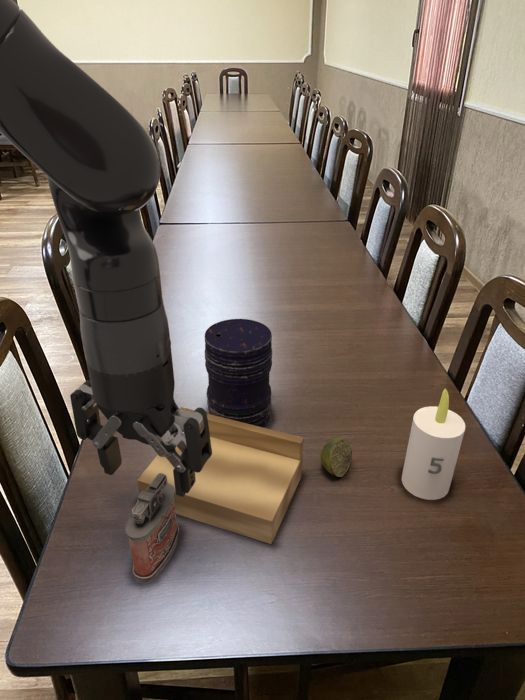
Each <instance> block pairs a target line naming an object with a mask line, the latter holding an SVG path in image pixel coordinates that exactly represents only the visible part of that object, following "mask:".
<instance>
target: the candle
mask: <svg viewBox="0 0 525 700" xmlns="http://www.w3.org/2000/svg"><path fill="white" fill-rule="evenodd" d="M449 407H450V395H449V392H448V389H447V388H444V389H443V390H442V393H441V397H440V400H439V403H438V406H431V405H430V406H423V407H421V408H419V409H418V410H416V411H415V413H414V414H413V418H412V423H411V429H410V432H409V436H408V437H409V438H408V443H407V448H406V453H405V457H404V458H405V459H404V463H403V468H402V473H401V483H402V485H403V487H404V488H405V490H406V491H407V492H408V493H409V494H411V495H413V496H414V497H417V498H419V499H422V500H427V501H437V500H440V499H443V498H444V497H446V496H447V495H448V494H449V491H450V488H451V485H452V480H453V477H454V473H455V470H456V465H457V462H458V458H459V453H460V450H461V447H462V443H463V440H464V435H465V432H466V423H465V421H464V419H463V418H462V417H461V416H460V415H459V414H457V413H456V412H455V411H453V410H450V409H449Z"/></svg>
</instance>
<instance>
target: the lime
mask: <svg viewBox="0 0 525 700" xmlns="http://www.w3.org/2000/svg"><path fill="white" fill-rule="evenodd" d="M319 457H320V462H321V464H322V466H323V467H324V469H325V471H327V473H329V474H331V475H332V476H335V477H337V478H342V477H344V475H345V474H346V473H347V472H348V470H349V469H350V466H351V462H352V459H353V450H352V446H351V443H350V442H349V441H348V440H345V439H343V438H341V437H340V438H339V437H336V438H333V439H331V440H328V441H327V442H326V443H325V444H324V445H323V447H322V449H321V451H320V456H319Z"/></svg>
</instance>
